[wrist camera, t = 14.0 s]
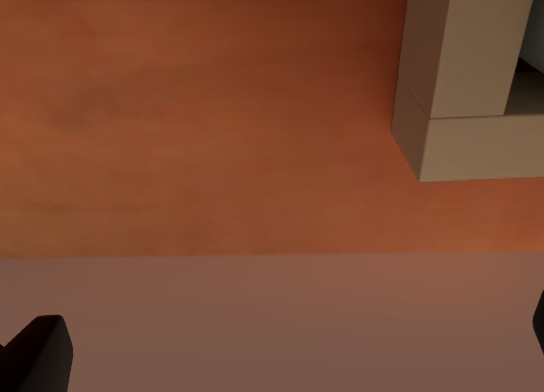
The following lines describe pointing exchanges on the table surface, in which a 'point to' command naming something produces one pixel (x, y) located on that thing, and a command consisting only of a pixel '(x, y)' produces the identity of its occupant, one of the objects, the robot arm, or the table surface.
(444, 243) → the table surface
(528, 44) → the bottle
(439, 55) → the hole block
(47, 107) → the table surface
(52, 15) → the table surface
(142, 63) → the table surface
